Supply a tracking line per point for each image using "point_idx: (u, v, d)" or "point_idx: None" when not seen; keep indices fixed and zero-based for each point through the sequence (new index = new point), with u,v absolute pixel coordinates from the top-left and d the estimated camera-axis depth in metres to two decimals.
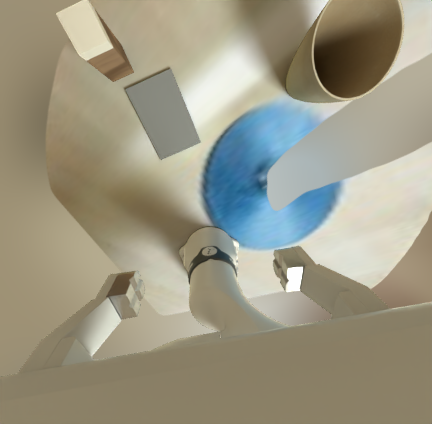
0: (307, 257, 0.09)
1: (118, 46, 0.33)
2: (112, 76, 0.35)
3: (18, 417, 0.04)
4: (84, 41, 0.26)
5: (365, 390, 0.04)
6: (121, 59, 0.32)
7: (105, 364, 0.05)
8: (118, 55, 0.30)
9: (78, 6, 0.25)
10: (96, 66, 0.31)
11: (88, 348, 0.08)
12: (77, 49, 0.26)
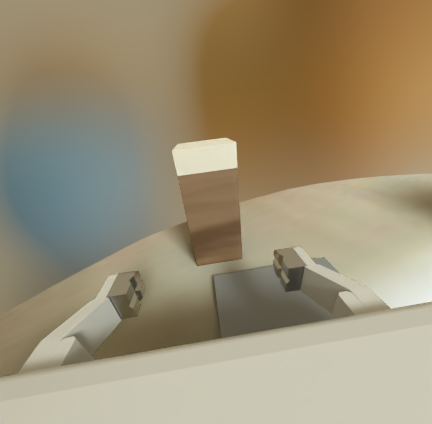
0: (307, 257, 0.09)
1: None
2: (202, 247, 0.18)
3: (18, 417, 0.04)
4: (195, 146, 0.14)
5: (365, 390, 0.04)
6: (236, 208, 0.16)
7: (105, 364, 0.05)
8: (236, 194, 0.16)
9: (210, 140, 0.18)
10: (187, 203, 0.15)
11: (88, 348, 0.08)
12: (175, 149, 0.14)
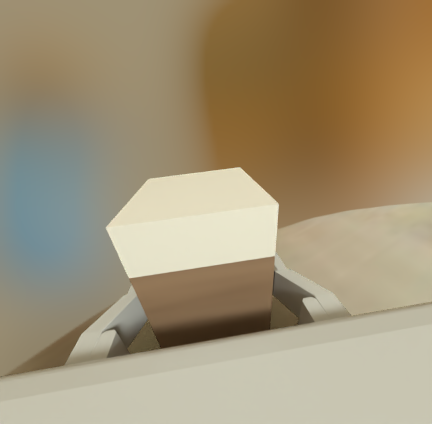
0: (279, 261, 0.09)
1: None
2: None
3: (18, 417, 0.04)
4: (173, 204, 0.06)
5: (365, 390, 0.04)
6: (264, 322, 0.08)
7: (105, 364, 0.05)
8: (266, 301, 0.07)
9: (211, 172, 0.09)
10: (158, 321, 0.07)
11: (123, 342, 0.08)
12: (122, 216, 0.05)
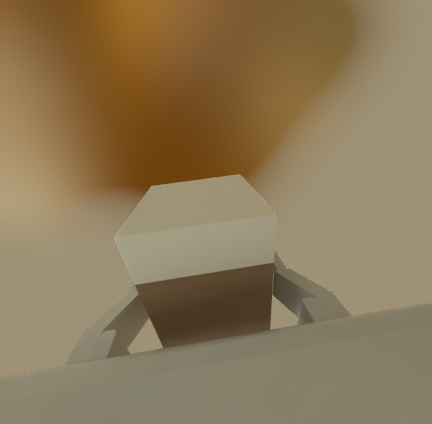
0: (279, 261, 0.09)
1: None
2: None
3: (18, 417, 0.04)
4: (176, 213, 0.06)
5: (365, 390, 0.04)
6: (264, 325, 0.08)
7: (105, 364, 0.05)
8: (266, 305, 0.07)
9: (212, 179, 0.09)
10: (162, 325, 0.07)
11: (123, 342, 0.08)
12: (128, 226, 0.06)
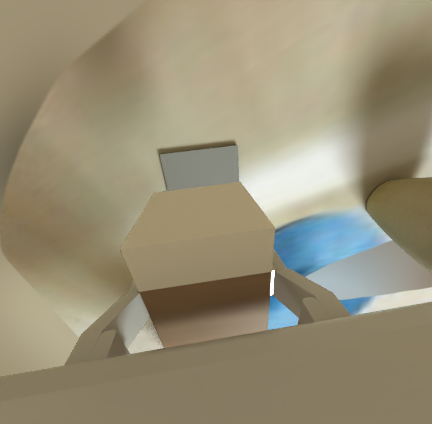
0: (279, 261, 0.09)
1: None
2: None
3: (18, 417, 0.04)
4: (179, 224, 0.06)
5: (365, 390, 0.04)
6: (262, 329, 0.08)
7: (105, 364, 0.05)
8: (263, 310, 0.08)
9: (213, 187, 0.10)
10: (164, 329, 0.08)
11: (123, 342, 0.08)
12: (133, 237, 0.06)
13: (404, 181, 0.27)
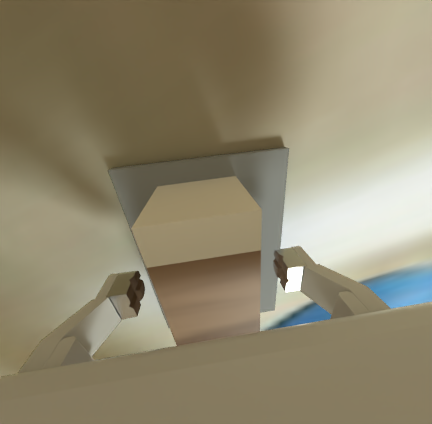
0: (307, 257, 0.09)
1: None
2: None
3: (18, 417, 0.04)
4: (180, 209, 0.07)
5: (364, 390, 0.04)
6: (255, 306, 0.09)
7: (105, 364, 0.05)
8: (256, 287, 0.09)
9: (211, 180, 0.11)
10: (168, 304, 0.09)
11: (88, 348, 0.08)
12: (142, 219, 0.07)
13: None
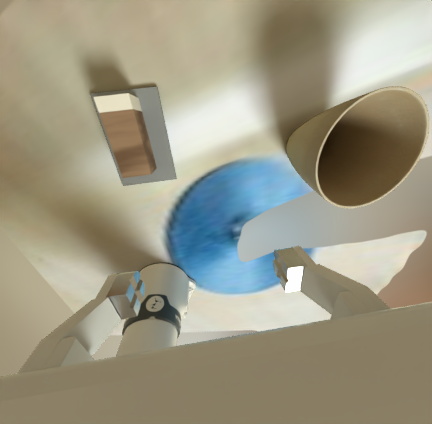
0: (307, 257, 0.09)
1: (148, 146, 0.31)
2: (123, 163, 0.29)
3: (18, 417, 0.04)
4: None
5: (365, 390, 0.04)
6: (138, 136, 0.28)
7: (105, 364, 0.05)
8: (136, 126, 0.27)
9: None
10: (107, 131, 0.27)
11: (88, 348, 0.08)
12: (97, 97, 0.25)
13: None
